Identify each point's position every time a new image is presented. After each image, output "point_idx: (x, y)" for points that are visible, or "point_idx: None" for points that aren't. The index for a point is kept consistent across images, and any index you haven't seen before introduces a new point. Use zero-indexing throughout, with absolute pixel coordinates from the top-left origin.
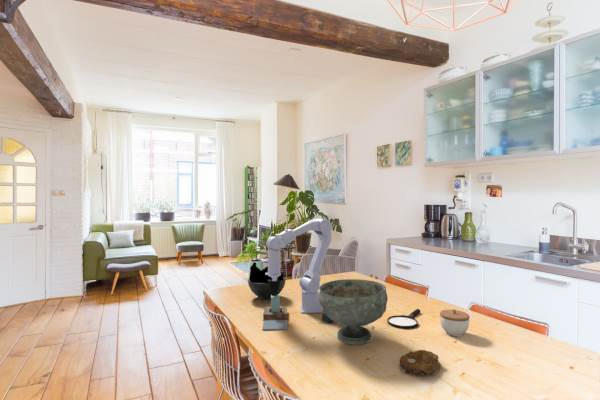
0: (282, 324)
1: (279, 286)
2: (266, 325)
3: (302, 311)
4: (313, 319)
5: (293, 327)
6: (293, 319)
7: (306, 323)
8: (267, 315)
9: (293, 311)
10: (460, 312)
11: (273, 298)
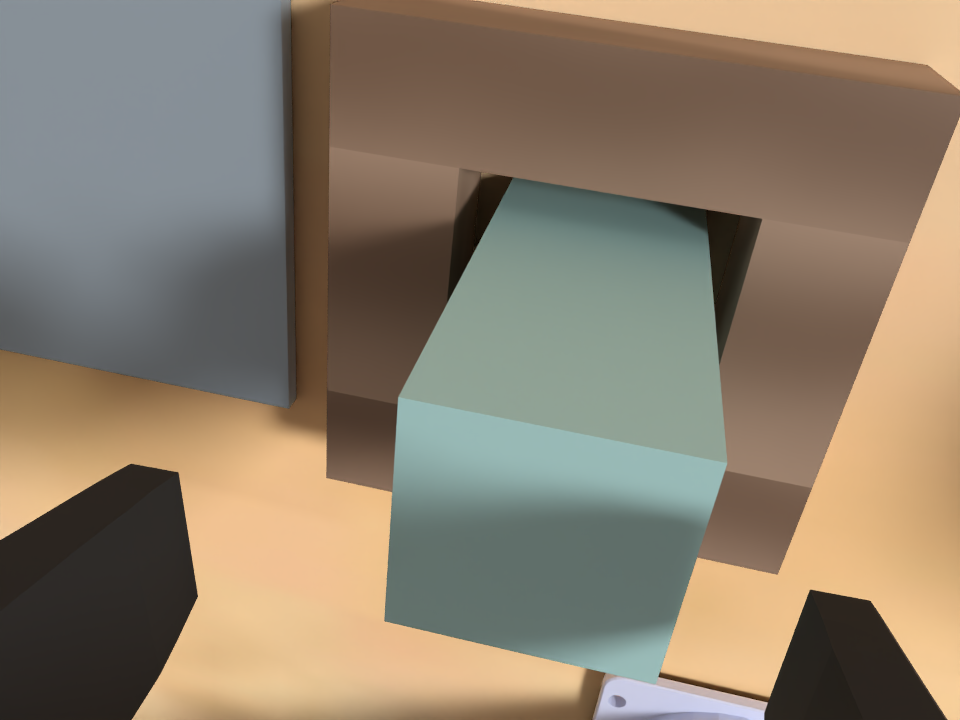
0: (86, 306)
1: None
2: (16, 24)
3: (632, 693)
4: (340, 696)
5: (52, 422)
6: (363, 498)
7: (202, 593)
8: (337, 103)
9: (747, 593)
10: None
11: (403, 449)
